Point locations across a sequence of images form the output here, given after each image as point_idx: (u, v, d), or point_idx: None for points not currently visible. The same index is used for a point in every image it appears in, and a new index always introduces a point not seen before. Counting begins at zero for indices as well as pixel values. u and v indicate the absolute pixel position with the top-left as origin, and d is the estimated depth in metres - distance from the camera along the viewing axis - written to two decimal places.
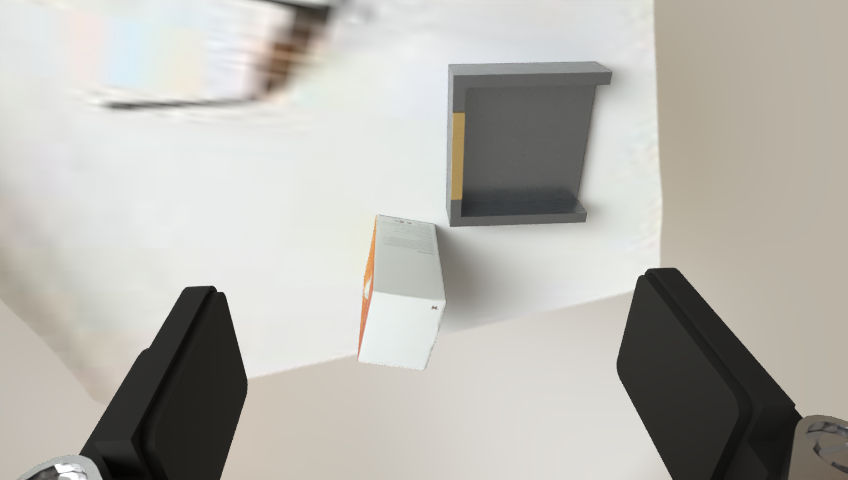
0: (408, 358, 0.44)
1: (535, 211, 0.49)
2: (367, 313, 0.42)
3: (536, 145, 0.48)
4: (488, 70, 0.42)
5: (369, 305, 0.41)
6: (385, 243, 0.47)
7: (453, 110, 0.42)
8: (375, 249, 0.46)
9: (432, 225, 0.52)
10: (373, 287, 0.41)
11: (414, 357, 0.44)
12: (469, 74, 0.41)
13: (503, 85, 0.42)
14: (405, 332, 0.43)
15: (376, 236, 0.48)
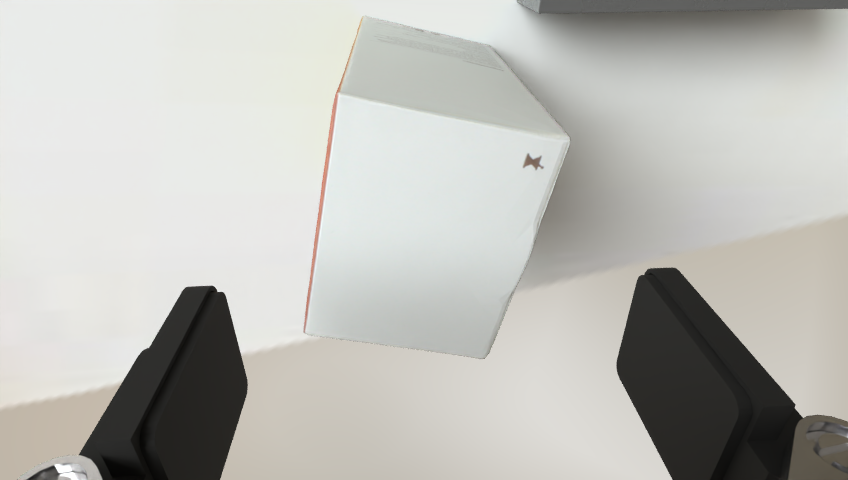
0: (444, 325, 0.16)
1: None
2: (324, 180, 0.13)
3: None
4: None
5: (329, 150, 0.13)
6: (382, 41, 0.19)
7: None
8: (355, 43, 0.17)
9: (485, 45, 0.24)
10: (341, 87, 0.13)
11: (460, 322, 0.16)
12: None
13: None
14: (439, 246, 0.15)
15: (360, 31, 0.19)
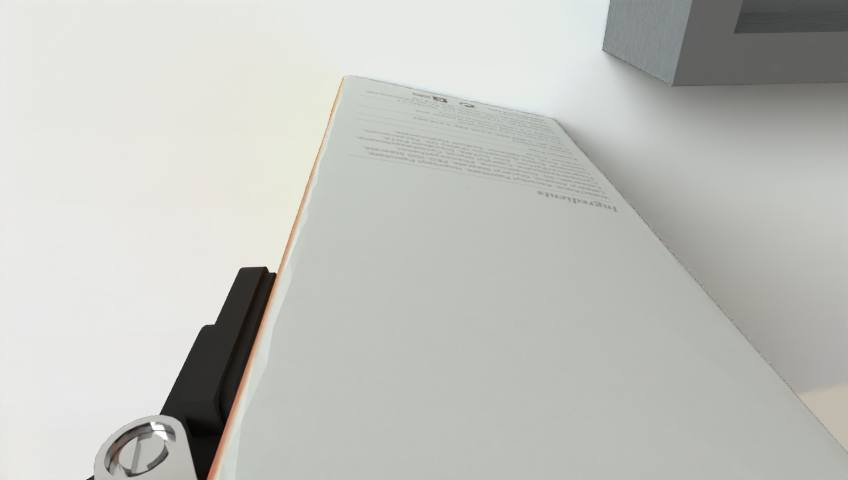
0: None
1: None
2: None
3: None
4: None
5: None
6: (375, 153, 0.09)
7: None
8: (315, 173, 0.08)
9: (548, 120, 0.14)
10: None
11: None
12: None
13: None
14: None
15: (332, 126, 0.10)
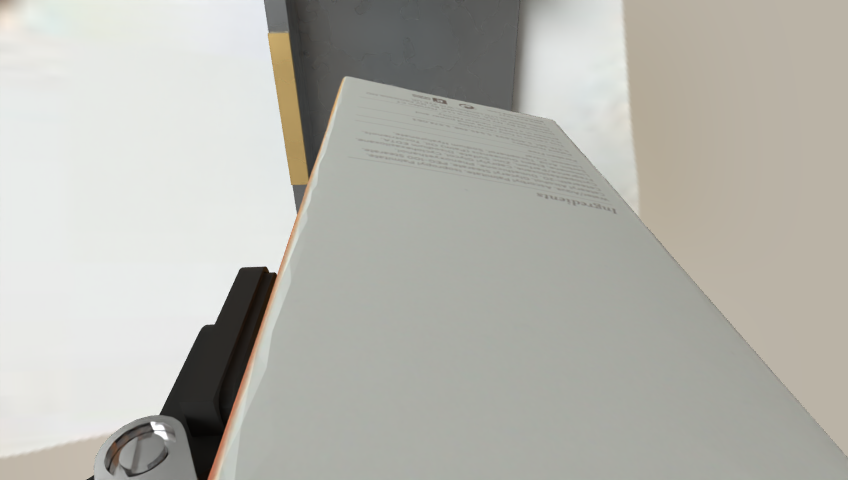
0: None
1: None
2: None
3: None
4: None
5: None
6: (375, 154, 0.09)
7: (270, 29, 0.25)
8: (315, 175, 0.08)
9: (548, 121, 0.14)
10: None
11: None
12: None
13: None
14: None
15: (331, 128, 0.10)
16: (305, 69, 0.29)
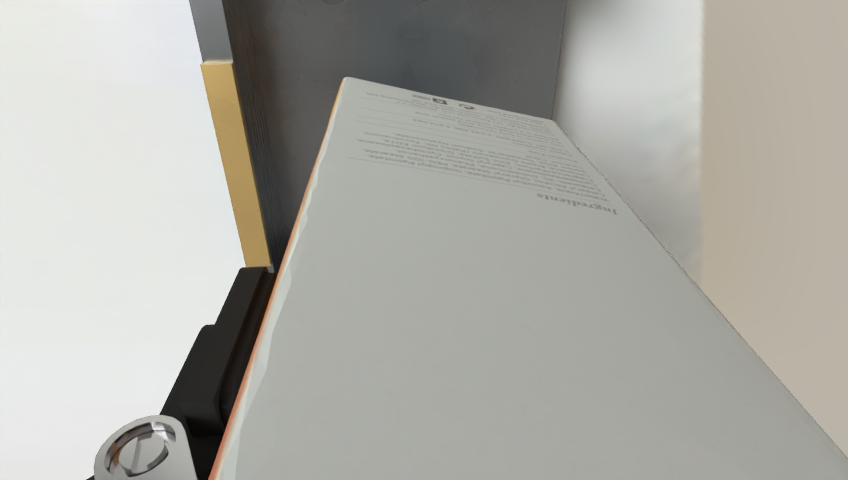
0: None
1: None
2: None
3: None
4: None
5: None
6: (375, 155, 0.09)
7: (204, 58, 0.17)
8: (315, 176, 0.08)
9: (548, 121, 0.14)
10: None
11: None
12: None
13: None
14: None
15: (331, 128, 0.10)
16: (265, 106, 0.21)
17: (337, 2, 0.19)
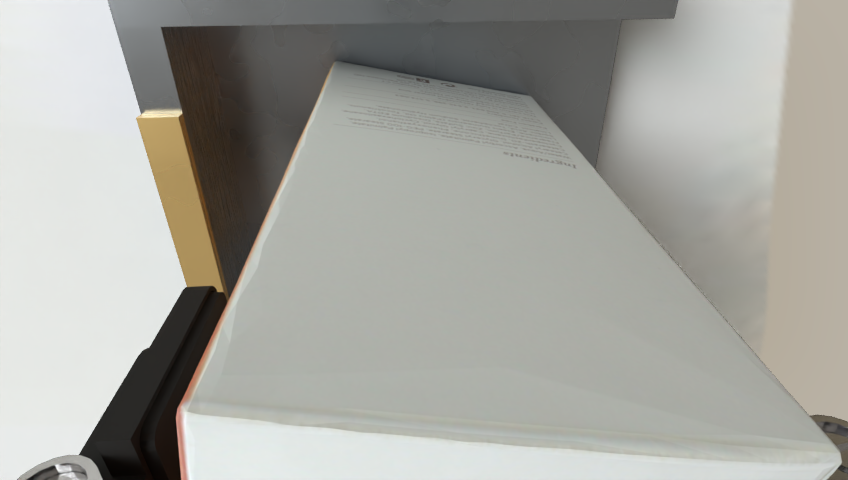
0: None
1: None
2: None
3: None
4: None
5: None
6: (358, 122, 0.10)
7: (143, 108, 0.13)
8: (303, 138, 0.09)
9: (525, 97, 0.15)
10: (205, 366, 0.04)
11: None
12: None
13: (298, 19, 0.12)
14: None
15: (320, 102, 0.11)
16: (234, 159, 0.16)
17: (324, 30, 0.15)
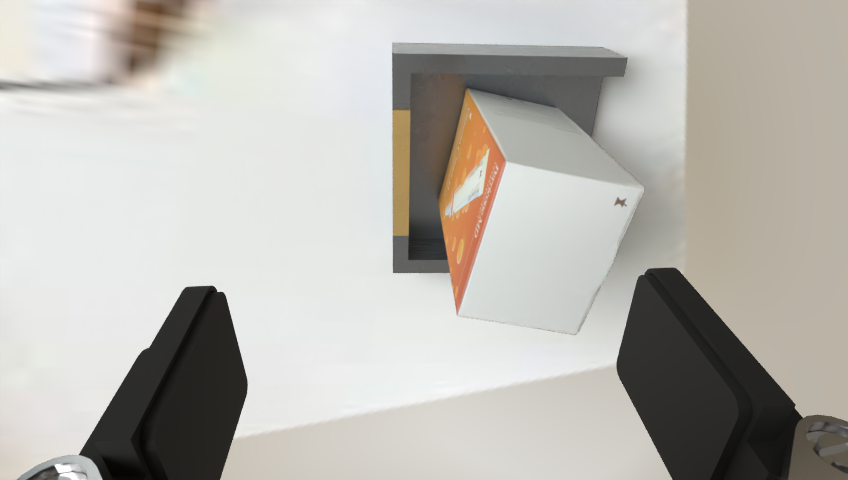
0: (552, 310, 0.24)
1: None
2: (488, 213, 0.21)
3: None
4: (446, 50, 0.29)
5: (495, 195, 0.21)
6: (497, 113, 0.27)
7: (393, 106, 0.29)
8: (483, 117, 0.26)
9: (556, 108, 0.32)
10: (505, 157, 0.21)
11: (562, 308, 0.24)
12: (416, 53, 0.28)
13: (467, 71, 0.28)
14: (556, 255, 0.22)
15: (478, 106, 0.27)
16: None
17: (463, 73, 0.31)
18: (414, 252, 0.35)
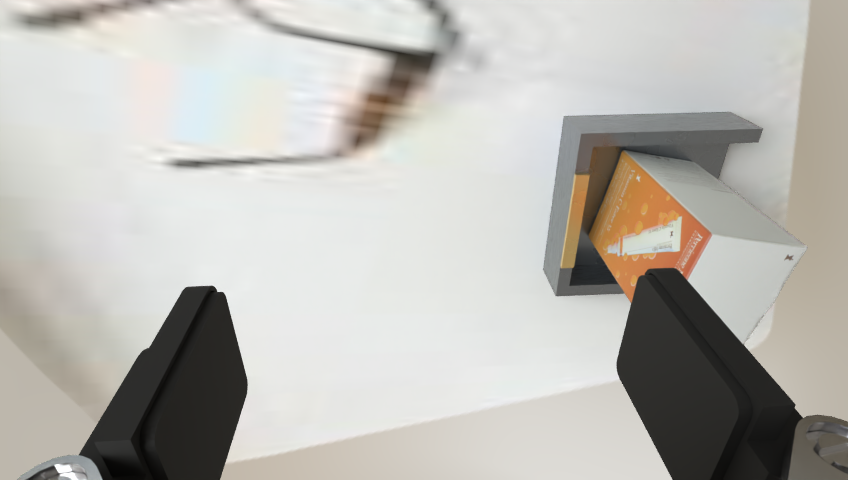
0: None
1: None
2: (691, 268, 0.29)
3: None
4: (616, 125, 0.36)
5: (699, 256, 0.29)
6: (667, 180, 0.34)
7: (575, 171, 0.37)
8: (662, 186, 0.33)
9: (693, 162, 0.40)
10: (708, 229, 0.28)
11: (733, 331, 0.32)
12: (598, 132, 0.35)
13: (636, 144, 0.36)
14: (736, 295, 0.30)
15: (648, 172, 0.35)
16: None
17: None
18: (570, 278, 0.43)
